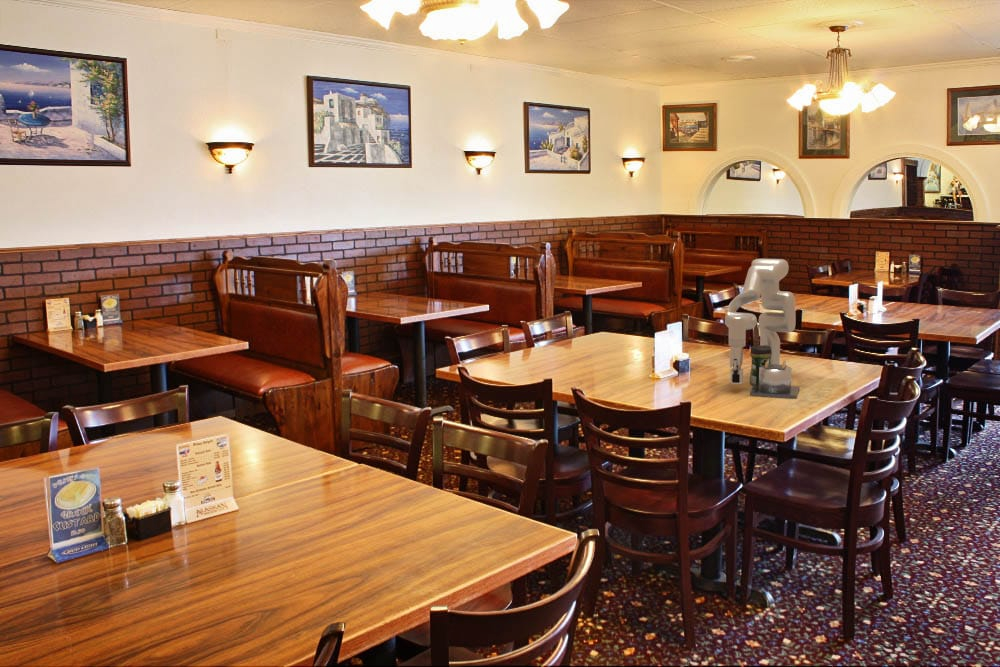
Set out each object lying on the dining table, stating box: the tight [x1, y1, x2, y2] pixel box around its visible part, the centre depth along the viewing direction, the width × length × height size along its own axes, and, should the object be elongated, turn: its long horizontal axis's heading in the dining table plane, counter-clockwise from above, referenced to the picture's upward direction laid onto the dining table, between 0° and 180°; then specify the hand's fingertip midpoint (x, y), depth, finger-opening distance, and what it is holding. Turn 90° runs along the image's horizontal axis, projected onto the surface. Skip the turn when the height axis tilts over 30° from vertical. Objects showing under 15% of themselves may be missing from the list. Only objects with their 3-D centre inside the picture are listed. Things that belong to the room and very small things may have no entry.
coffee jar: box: [749, 345, 772, 386], centre depth 418 cm, size 10×8×19 cm
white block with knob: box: [729, 366, 744, 385], centre depth 405 cm, size 5×5×8 cm
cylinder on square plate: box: [749, 360, 800, 400], centre depth 400 cm, size 20×20×14 cm
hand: (736, 380), depth 406 cm, fingers closed on white block with knob, 5 cm apart
